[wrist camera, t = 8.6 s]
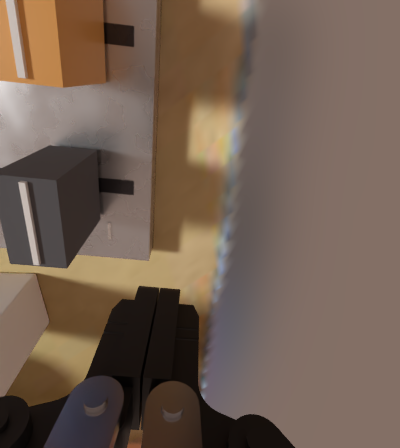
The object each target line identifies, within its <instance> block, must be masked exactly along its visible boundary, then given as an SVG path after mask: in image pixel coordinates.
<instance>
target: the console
mask: <svg viewBox="0 0 400 448" xmlns="http://www.w3.org/2000/svg"><path fill="white" fill-rule="evenodd" d="M161 3H162V0H103V19H104V46H105V73H106V83H102V84H93V85H84V86H75V87H66V88H61V87H52V86H43V85H34V84H25V83H16V82H7V81H0V169H1V168H3V167H5V166H7V165H9V164H11V163H13V162H15V161H18V160H20V159H22V158H24V157H26V156H28V155H30V154H32V153H34V152H36V151H38V150H41V149H43V148H45V147H47V146H49V145H52V146H62V147H71V148H81V149H91V150H97V163H98V181H99V199H100V217H101V220H100V221H99V222H98V224H97V225H96V227H95V228H94V230H93V231H92V233H91V234H90V236H89V237H88V239H87V240H86V241H85V243H84V244H83V246H82V247H81V249H80V250H79V252H78V253H77V254H78V255H89V256H101V257H112V258H123V259H135V260H146V261H149V259H150V255H151V251H152V248H153V223H154V195H155V168H156V140H157V113H158V85H159V58H160V30H161ZM0 248H7V247H6V243H5V239H4V234H3V230H2V225H1V221H0Z"/></svg>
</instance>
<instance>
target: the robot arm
mask: <svg viewBox="0 0 400 448" xmlns="http://www.w3.org/2000/svg"><path fill="white" fill-rule="evenodd" d="M179 297H180V289H168V288H160V293H159V288H156V287H145V286H139V287H138V290H137V293H136V297H135V300H126V299H122V300H121V301H120V302H119V303H118V304H117V305H116V306H115V307H114V308H113V309H112V311H111V314H110V317H109V319H108V323H107V324H106V327H105V330H104V333H103V335H102V337H101V340H100V343H99V345H98V348H97V350H96V353H95V356H94V358H93V361H92V363H91V366H90V369H89V371H88V374H87V376H86V378H85V379H84V381H82V382H81V383H80V384H78V385H77V386H76V387H75V388H74V389H73V391H72V392H71V393H70V394H69V395H67V396H65V397H63V398H61V399H59V400H55V401H52V402H48V403H43V404H39V405H35V406H31V407H28V405H27V403H26V402H25V401H24V400H23V399H21V398H20V397H17V396H2V397H0V448H127V445H128V440H129V435H130V430H131V429H133V430H139V426H140V421H141V415H142V421H141V430H143V434H142V444H141V448H295V447H294V446H293V445H292V444H291V443H290V441H289V440H288V439H287V438H286V437H285V436H284V435H283V434H282V432H281V431H280V430H279V429H278V428H277V427H276V426H275V425H274V424H273V423H272V422H270V421H269V420H268V419H266V418H264V417H262V416H259V415H254V414H253V415H252V414H249V415H244V416H242V417H240V418H238V419H237V420H235V419H232V418H230V417H228V416H226V415H223V414H221V413H219V412H217V411H215V410H214V409H212V408H211V407H210V406H209V405H208V404H207V403H206V402H205V401H204V399H203V398H202V396H201V394H200V391H199V387H198V345H199V342H198V340H199V316H198V314H197V312H196V310H195V308H194V306H193V305H184V304H179Z"/></svg>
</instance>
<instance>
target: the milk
mask: <svg viewBox="0 0 400 448" xmlns="http://www.w3.org/2000/svg"><path fill="white" fill-rule="evenodd" d="M48 324H49V318H48V315H47V311H46V308H45V304H44V301H43V297H42V294H41V290H40V287H39V284H38V280H37V277H36V274H33V273H0V397H2V396H5V395H6V393H7V391H8V390H9V388H10V386H11V385H12V383H13V382H14V380H15V378H16V377H17V375H18V373H19V372H20V370H21V368H22V367H23V365H24V363H25V362H26V360H27V358H28V357H29V355H30V354H31V352H32V350H33V349H34V347H35V345H36V344H37V342H38V340H39V339H40V337H41V335H42V334H43V332H44V331H45V329H46V327H47V326H48Z"/></svg>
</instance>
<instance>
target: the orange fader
mask: <svg viewBox="0 0 400 448" xmlns="http://www.w3.org/2000/svg"><path fill="white" fill-rule="evenodd" d="M0 81H7V82H16V83H25V84H34V85H43V86H52V87H61V88H66V87H75V86H84V85H93V84H102V83H106V73H105V46H104V19H103V0H0Z"/></svg>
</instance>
